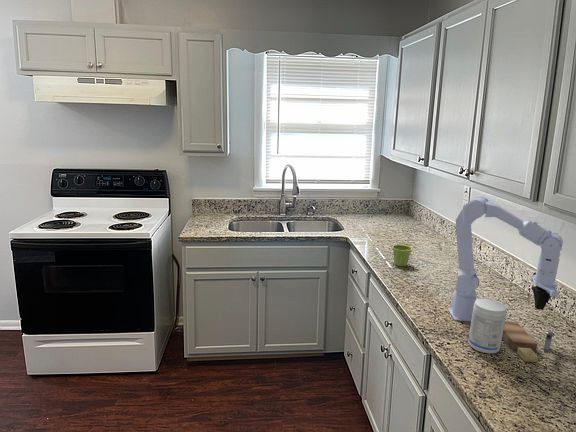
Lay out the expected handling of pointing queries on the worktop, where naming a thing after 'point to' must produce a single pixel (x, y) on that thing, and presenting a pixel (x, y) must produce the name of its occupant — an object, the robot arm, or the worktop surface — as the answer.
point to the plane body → (517, 337)
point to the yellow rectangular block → (527, 354)
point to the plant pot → (401, 254)
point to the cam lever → (548, 341)
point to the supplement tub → (487, 325)
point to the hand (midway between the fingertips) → (539, 308)
